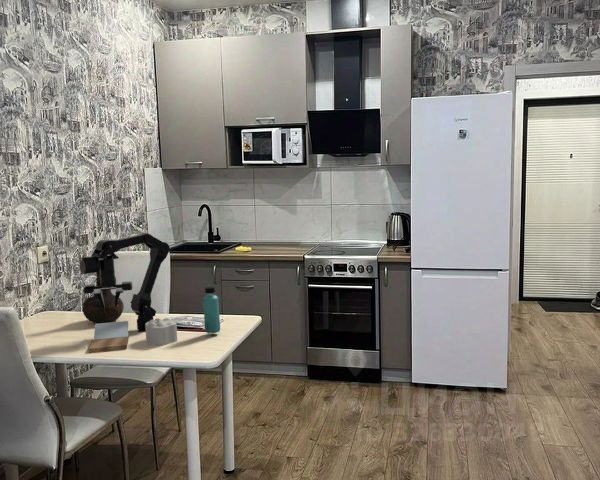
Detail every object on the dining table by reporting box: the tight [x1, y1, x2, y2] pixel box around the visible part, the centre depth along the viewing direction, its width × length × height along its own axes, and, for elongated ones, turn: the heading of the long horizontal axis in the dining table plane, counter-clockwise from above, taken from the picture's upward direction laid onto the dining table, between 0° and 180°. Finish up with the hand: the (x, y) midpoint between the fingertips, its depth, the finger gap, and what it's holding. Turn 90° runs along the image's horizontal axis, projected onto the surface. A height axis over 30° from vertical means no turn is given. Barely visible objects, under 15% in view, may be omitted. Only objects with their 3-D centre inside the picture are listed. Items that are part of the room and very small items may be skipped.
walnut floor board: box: [88, 336, 129, 354], centre depth 228 cm, size 14×12×2 cm
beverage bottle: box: [202, 286, 221, 334], centre depth 238 cm, size 6×7×20 cm
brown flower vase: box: [82, 270, 125, 324], centre depth 267 cm, size 18×18×28 cm
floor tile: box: [93, 320, 129, 340], centre depth 238 cm, size 13×10×2 cm
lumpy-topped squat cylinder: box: [145, 317, 178, 347], centre depth 233 cm, size 10×13×9 cm
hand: (110, 308), depth 239 cm, fingers open, 4 cm apart
